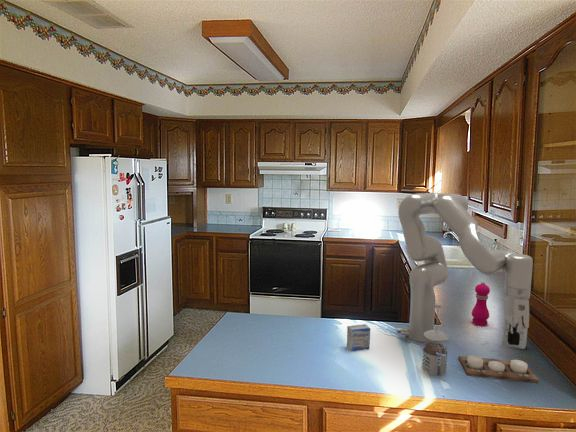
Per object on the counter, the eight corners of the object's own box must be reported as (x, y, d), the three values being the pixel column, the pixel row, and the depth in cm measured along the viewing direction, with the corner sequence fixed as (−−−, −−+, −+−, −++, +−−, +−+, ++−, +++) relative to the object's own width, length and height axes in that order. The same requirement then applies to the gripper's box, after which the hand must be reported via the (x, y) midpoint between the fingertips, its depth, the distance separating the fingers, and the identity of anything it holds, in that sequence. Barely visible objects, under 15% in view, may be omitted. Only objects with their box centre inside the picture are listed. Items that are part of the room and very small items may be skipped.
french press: (441, 366, 144) (446, 298, 141) (456, 384, 132) (461, 311, 129) (414, 366, 144) (418, 298, 140) (426, 384, 132) (431, 311, 129)
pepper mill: (490, 327, 179) (494, 283, 176) (473, 326, 180) (476, 282, 177) (486, 321, 186) (489, 279, 183) (469, 319, 187) (472, 278, 184)
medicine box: (351, 351, 154) (351, 330, 153) (346, 346, 158) (347, 325, 157) (369, 349, 156) (370, 328, 155) (364, 344, 160) (365, 323, 159)
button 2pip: (512, 374, 136) (513, 366, 135) (507, 367, 141) (508, 358, 140) (529, 376, 135) (530, 367, 134) (523, 369, 140) (524, 360, 139)
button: (490, 376, 137) (491, 367, 137) (485, 368, 142) (486, 360, 142) (506, 377, 136) (507, 368, 136) (501, 370, 141) (502, 361, 141)
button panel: (466, 379, 135) (466, 371, 135) (458, 362, 147) (458, 355, 147) (538, 386, 131) (538, 379, 131) (523, 368, 143) (524, 361, 143)
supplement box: (505, 341, 165) (508, 311, 164) (526, 346, 161) (529, 316, 159) (501, 347, 160) (504, 316, 158) (523, 353, 155) (526, 321, 153)
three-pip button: (468, 370, 138) (469, 361, 138) (465, 363, 143) (465, 354, 143) (484, 372, 137) (485, 363, 137) (480, 364, 142) (480, 356, 142)
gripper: (538, 299, 126) (533, 355, 129) (521, 285, 141) (517, 335, 143) (512, 297, 128) (508, 352, 130) (498, 284, 142) (494, 334, 145)
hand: (513, 343), depth 137 cm, fingers closed
